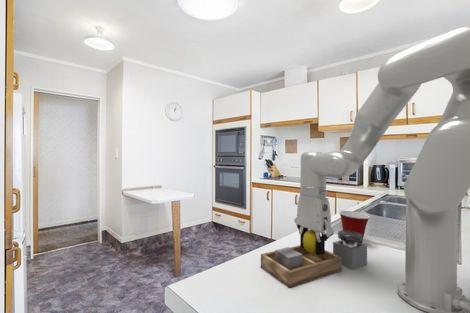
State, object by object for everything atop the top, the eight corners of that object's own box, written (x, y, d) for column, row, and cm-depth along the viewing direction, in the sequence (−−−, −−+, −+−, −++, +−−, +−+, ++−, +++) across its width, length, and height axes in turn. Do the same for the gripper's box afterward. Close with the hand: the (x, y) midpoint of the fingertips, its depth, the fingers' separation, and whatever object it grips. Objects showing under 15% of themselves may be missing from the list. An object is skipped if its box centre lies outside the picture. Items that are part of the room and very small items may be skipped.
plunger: (367, 262, 76) (367, 235, 76) (352, 267, 73) (352, 238, 73) (347, 254, 82) (347, 229, 82) (333, 258, 79) (333, 232, 79)
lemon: (307, 249, 79) (307, 225, 79) (324, 254, 75) (324, 228, 75) (299, 255, 75) (300, 229, 75) (317, 260, 71) (317, 233, 71)
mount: (366, 264, 76) (367, 245, 76) (352, 269, 73) (352, 249, 73) (347, 256, 82) (347, 238, 82) (333, 260, 79) (333, 242, 79)
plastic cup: (374, 250, 88) (375, 217, 87) (342, 248, 89) (343, 215, 89) (363, 239, 98) (364, 210, 98) (335, 238, 100) (335, 209, 100)
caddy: (341, 270, 72) (341, 250, 72) (289, 288, 62) (289, 265, 62) (309, 254, 83) (309, 237, 83) (260, 267, 74) (260, 247, 74)
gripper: (345, 195, 69) (344, 258, 69) (302, 187, 84) (301, 239, 84) (326, 197, 66) (325, 264, 66) (285, 189, 81) (284, 243, 81)
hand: (312, 249), depth 75 cm, fingers closed on lemon, 5 cm apart
